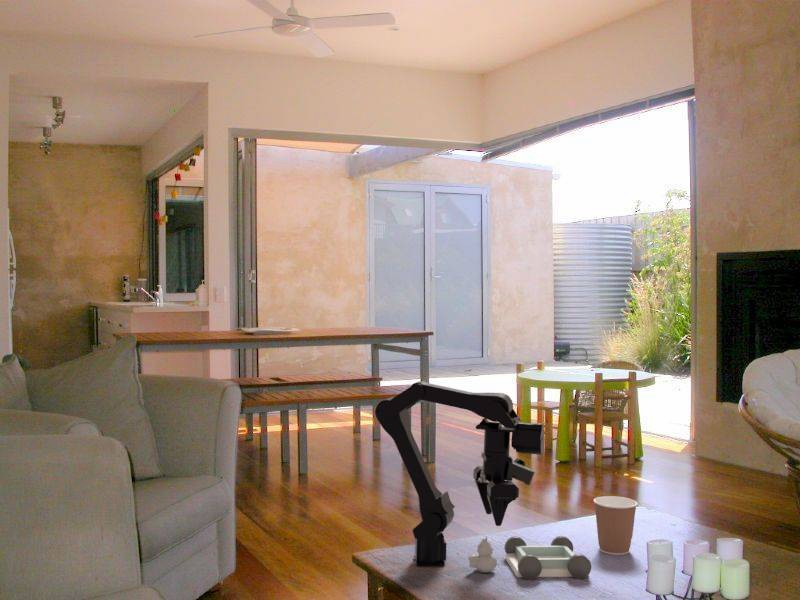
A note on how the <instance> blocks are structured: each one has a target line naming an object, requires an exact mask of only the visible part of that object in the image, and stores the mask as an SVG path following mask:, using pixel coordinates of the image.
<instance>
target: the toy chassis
mask: <svg viewBox="0 0 800 600" xmlns="http://www.w3.org/2000/svg"><path fill="white" fill-rule="evenodd" d="M504 552H505V561H506V562H507V564H508V565H509V567H510V568H511V571H512V572H513V573H514V575H515V577H517V578H524V579H526V580H531V581H532V580H534V579H537V578H564V577H565V578H566V577H567V578H568V577H571V578H575V579H578V580H582V579H585V578H587V577H590V573H591V571H592V563H591V561H590V559H589V558H588V557H587V556H585V554H582V553H574V544H573V543H572V540H570V539H569V538H568V537H567V536H564V535H559V536H556V537H555V538H553V539H552V541H551V544H550V545H527V543H526V542H525V540H524V539H523V538H521V536H516V535H515V536H511V537H509V538H508V539H507V540H506V541H505V543H504Z"/></svg>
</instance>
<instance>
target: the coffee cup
mask: <svg viewBox="0 0 800 600" xmlns="http://www.w3.org/2000/svg"><path fill="white" fill-rule="evenodd" d="M593 503H594V509H595V518H596V520H595V521H596V530H597V540H598V542H597V543H598V547H599V550H600V552H602V553H604V554H607V555H615V556H624V555H627V554H629V553H630V549H631V545H632V539H633V534H634V528H635V527H634V525H635V515H636V510H637V506H638V502H637V501H636V500H634V499H632V498H628V497H623V496H615V495H614V496H613V495H611V496H610V495H604V496H599V497H595V498H593Z"/></svg>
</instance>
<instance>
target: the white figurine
mask: <svg viewBox="0 0 800 600" xmlns="http://www.w3.org/2000/svg"><path fill="white" fill-rule="evenodd" d="M494 550H495V549H494V548H493V547H492V545H491V543H490V542H489V541H488V536H485V538H483V539H482V540H481V541H480V542H479V544H478V545H477V550H476V551H477V554H470V555H469V556H468V561H469V565H468V567H469V568H474V569H476V570H478V572H480V573H482V574H483V573H484V574H485V573H491V572H493V571H494V570H496V569H495V568H497V565H498V560H497V558H496V557H495V556H494V555H492V554H493V553H494V552H493V551H494Z"/></svg>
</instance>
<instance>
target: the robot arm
mask: <svg viewBox="0 0 800 600" xmlns="http://www.w3.org/2000/svg"><path fill="white" fill-rule="evenodd" d="M420 401H425V402H428V403H429V402H430V403H435V404H439V405H444V406H448V407H453V408H458V409H461V410H466V411H470V412H471V413H473V414H475V415H477V416H479V417H481V418H482V419H481V420H480V423H477V424H476V425H475V429H476V430H483V431H484V435H483V452H481V454H480V457H481V458H482V460H483V461H482V462H483V463H482V465H481V466H480V465H477V466H476V467H475V468H474V469H473V473H472V474H473V475H472V477H473V479H474V483H475V486H476V489H477V492H478V494H479V496H480V499H481V502H482V505H483V508H484V510H485V514H487V515H492V517H493V520H494V524H495V526H496V527H501V526H502V523H503V520H504V518H505V515H506V511H507V510H508V506H509V504H510V503H512V502H514V501H515V500H517V499H518V498H519V497H520V488H519V487H518V486H517V485H516V484H515V483H514V482H513V479H515V480H517V481H520V482H522V483H523V484H525V485H527V486H530V485H531V482H532V480H533V477H534V476H535V471H534V470H532V468H530V467H528V466H526V463H525V460H523V459H521V458H518V457H516V459H513V457H512V456H511V455H510V445H511V448H513V450H515V452H516V453H517V454H519V453H520V454H530V455H540V456H541V455H543V454H544V450H545V440H546V439H545V434H544V433H545V432H544V424H543V423H541V422H536V423H533V422H522V420H521V418H520V416H519V415H518V414H517V412H516V411H515V409H514V403H513V400H512V399H511V397H510V396H509V395H507V393H504V392H472V391H467V390H462V389H457V388H453V387H447V386H443V385H438V384H433V383H428V382H426V381H424V380H419V381H417V382H413V384H411V385H410V386H409V387H408V388H406V389H405V390H403V391H402V392H400V393H399V394H397V395H395V396H391V397H388V398H386V399H383V400H381V401H379V402H378V403H377V405H376V407H375V410H374V415H375V418H376V420H377V421H378V423H379V424H380V426H381V427H382V429H383V430H384V431H385V432H386V433H387V434H388V435H389V436H390V438H391V439H392V440H393V443H394V445H395V447H396V448H397V452H398V454H399V455H400V457H401V459H402V462H403V464H404V466H405V469H406V471H407V474H408V476H409V478H410V480H411V483H412V485H413V487H414V490H415V491H416V493H417V497H418V505H419V513H420V517H421V522H419V523H417V524H416V526H415V527H414V528H412V533H413V534H412V535H413V537H414V541H415V542H414V555H413V558H414V562H415V565H416V566H418V567H437V566H439V567H443V566H445V565H446V561H447V541H446V540H445V536H444V534H443V532H444V531H445V529H446V528H447V527H448V526H449V525H450V524H451V523H452V521H453V520H454V516H455V512H454V511H455V510H454V509H455V507H456V506H455V505H454V504H453V503H452V501H451V498H450V495H449V492H448V491H445V492H443V493H442V492H441V491H440V489H438V488H437V486H436V485H435V482H434V480H433V477H432V475H431V473H430V471H429V469H428V467H427V464H426V462H425V460H424V458H423V454H422V453H421V451H420V449H419V446H418V444H417V442H416V439H415V438H414V435H413V432H412V430H411V429H412V428H411V419H410V413H409V411H408V410H409V409H410V408H411V409H412V407H414V406H415V405H416V404H418V403H419V402H420ZM510 443H511V444H510Z"/></svg>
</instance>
